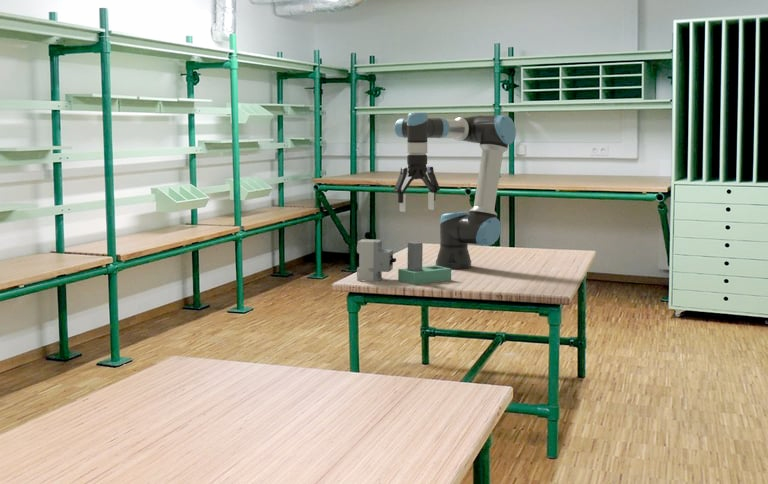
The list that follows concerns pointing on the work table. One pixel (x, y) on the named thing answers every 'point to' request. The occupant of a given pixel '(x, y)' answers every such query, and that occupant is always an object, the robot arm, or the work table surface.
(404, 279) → the box
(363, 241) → the circuit breaker
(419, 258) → the plug
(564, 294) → the work table surface
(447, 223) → the robot arm
